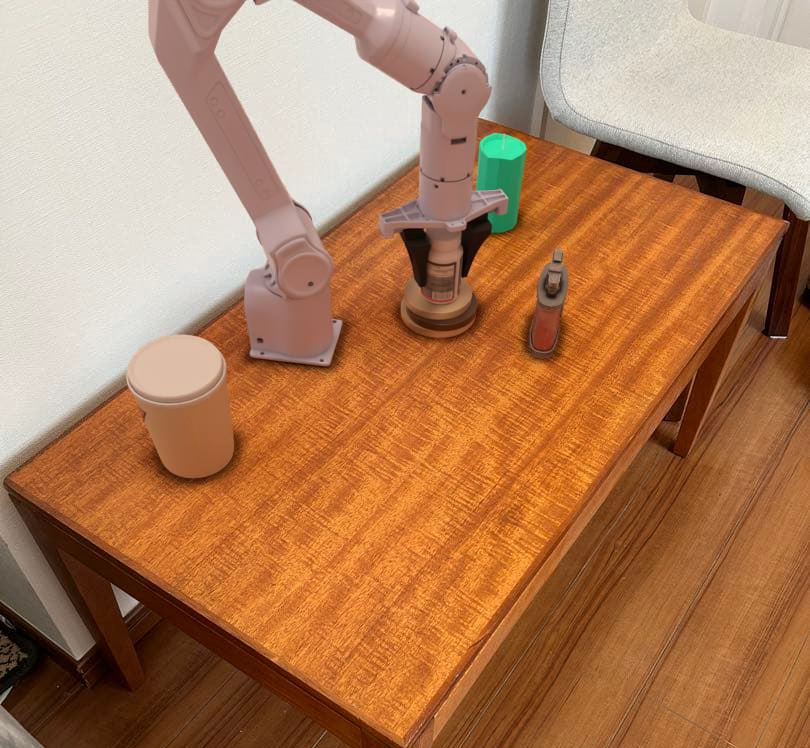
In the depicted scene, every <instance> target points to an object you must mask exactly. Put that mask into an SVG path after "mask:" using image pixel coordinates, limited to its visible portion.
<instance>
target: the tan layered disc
mask: <svg viewBox="0 0 810 748" xmlns="http://www.w3.org/2000/svg"><path fill="white" fill-rule="evenodd" d="M478 303H479V302H478V298H477V296H476V294H475V293H474V292H473V289H472V286H471V285H470V283H469V281H467V280H466V279H465V278H462V277H461V286H460V294H459V296H458V298H457V299H456V300H454V301H453V302H450V303H448V304H434V303H431V302H429V301H427V300H426V299H425V298H424V297H423V296H422V294H421V288H420V287H419V286H418V284H417V282H416V281H415V279H414V275H413V276H412V277H410V278H409V279H408V280H407V281H406V282H405V284H404V287H403V297H402V299H401V302H400V317H401V320H402V322H403V324H405V326H407V328H408V329H410V331H413V332H414V333H416V334H418V335H421V336H423V337H429V338H435V339H436V338H437V339H444V338H451V337H456V336H458V335H461V334H463V333H465V332H466V331H468V330H470V328H471V327H472V326H473V324H474V323H475V321H476V318H477V316H476V315H477V313H478V305H479V304H478Z"/></svg>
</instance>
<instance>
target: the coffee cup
mask: <svg viewBox="0 0 810 748" xmlns="http://www.w3.org/2000/svg"><path fill="white" fill-rule="evenodd" d="M227 369H228V368H227V361H226V359H225V356H224V355H223V354H222V352H221V351H220V350H219V349H218V348H217V347H216V346H215V344H213V343H212V342H210V341H209V340H207V339H205V338H202V337H200V336H197V335H190V334H171V335H170V334H169V335H166V336H162V337H158V338H155V339H153V340H151V341H148V342H147V343H146V344H144V345H142V346H141V347H140V348H139V349H137V350H136V351H135V352H134V353H133V354H132V357H131V358H130V359H129V362H128V366H127V368H126V374H125V380H126V384H127V387H128V389H129V391H130V393H131V394H132V395H133V398H134V401H135V403H136V406H137V408H138V410H139V413H140V415H141V418H142V420H143V422H144V425H145V427H146V429H147V431H148V434H149V436H150V438H151V441H152V444H153V445H154V449H155V450H156V452H157V454H158V456H159V458H160V461H161V463H162V465H163V466H164V467H165V468H166V470H168V471H169V472H170V473H172V474H173V475H175V476H178V477H181V478H186V479H200V478H201V479H202V478H206V477H209V476H212V475H214V474H217V473H218V472H220V471H221V470H223V469H224V468H225V467H226V466H227V465H228V464H229V462H230V461H231V460H232V457H233V455H234V451H235V439H234V430H233V419H232V410H231V402H230V396H229V395H230V394H229V386H228V378H227V371H228V370H227Z"/></svg>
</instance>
